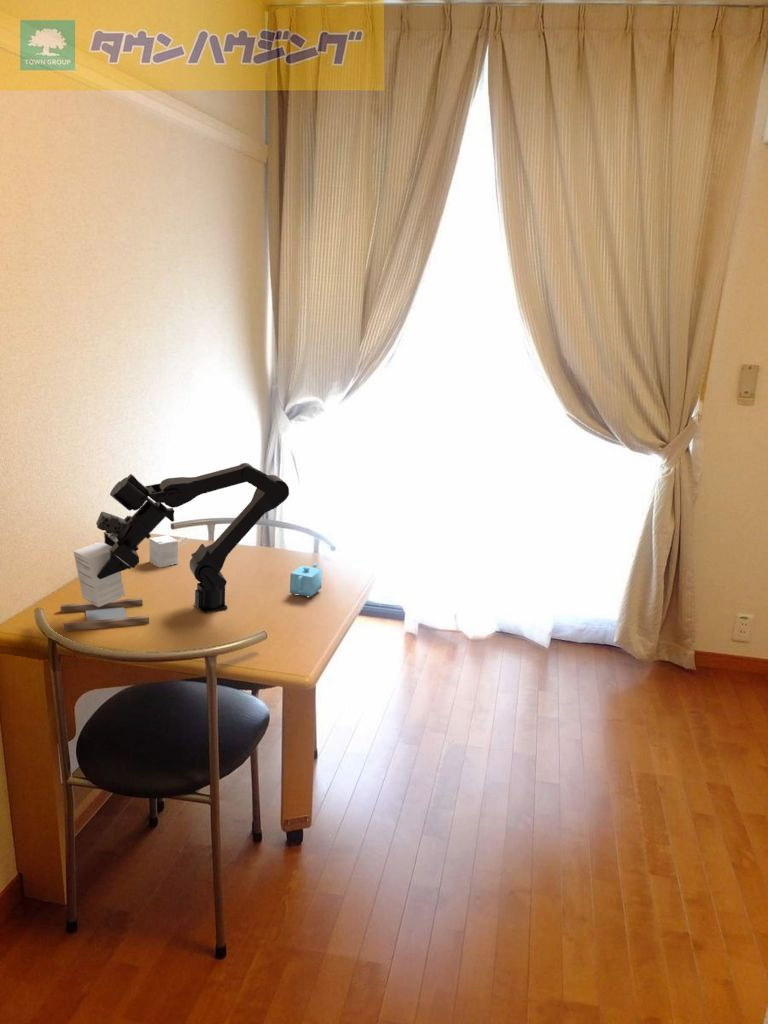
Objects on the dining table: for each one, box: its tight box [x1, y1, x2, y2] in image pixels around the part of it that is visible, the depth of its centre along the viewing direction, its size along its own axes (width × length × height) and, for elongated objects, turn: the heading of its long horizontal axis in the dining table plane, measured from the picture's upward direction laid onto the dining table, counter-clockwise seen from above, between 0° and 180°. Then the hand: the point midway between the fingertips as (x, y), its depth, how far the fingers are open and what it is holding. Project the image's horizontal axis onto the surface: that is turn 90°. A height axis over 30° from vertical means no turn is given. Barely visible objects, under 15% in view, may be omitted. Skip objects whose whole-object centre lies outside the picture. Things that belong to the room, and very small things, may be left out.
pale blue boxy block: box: [289, 562, 323, 597], centre depth 218 cm, size 12×6×8 cm, turn 161°
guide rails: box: [59, 597, 150, 633], centre depth 194 cm, size 19×12×2 cm, turn 114°
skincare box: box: [148, 534, 179, 569], centre depth 231 cm, size 6×6×7 cm
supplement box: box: [73, 541, 126, 607], centre depth 191 cm, size 7×7×13 cm
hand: (96, 571), depth 190 cm, fingers closed on supplement box, 9 cm apart
